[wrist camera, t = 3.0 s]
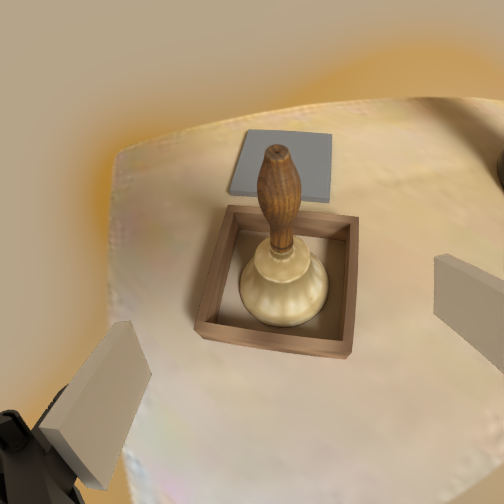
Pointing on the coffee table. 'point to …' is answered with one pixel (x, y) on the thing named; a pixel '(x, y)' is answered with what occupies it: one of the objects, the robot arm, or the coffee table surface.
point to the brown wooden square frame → (340, 349)
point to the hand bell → (282, 252)
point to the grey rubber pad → (303, 156)
